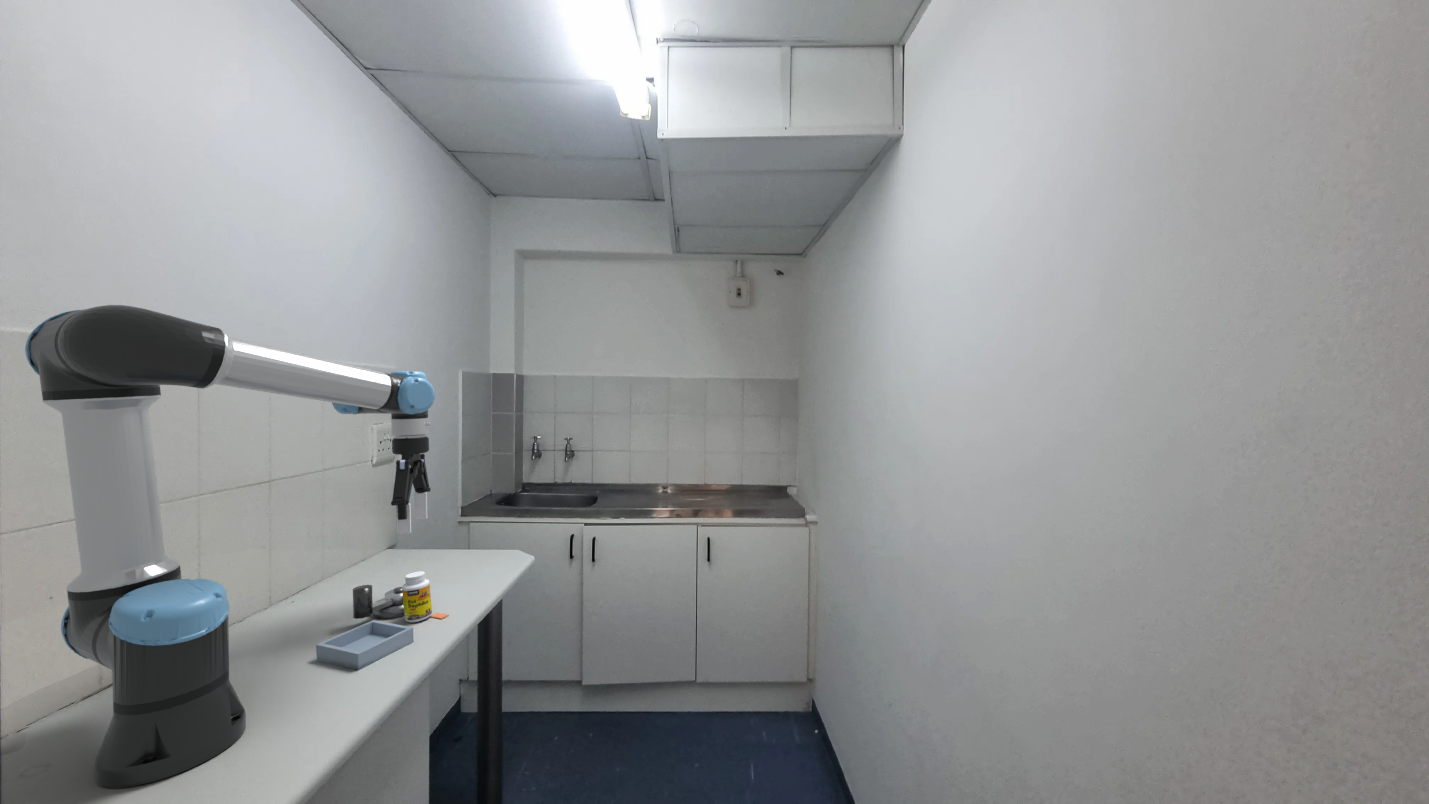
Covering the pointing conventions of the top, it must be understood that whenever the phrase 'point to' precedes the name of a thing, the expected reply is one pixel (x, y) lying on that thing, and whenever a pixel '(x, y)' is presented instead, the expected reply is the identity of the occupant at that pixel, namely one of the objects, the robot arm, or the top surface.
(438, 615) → the orange flat block
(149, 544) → the robot arm
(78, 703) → the top surface
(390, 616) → the crank housing
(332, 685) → the top surface
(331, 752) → the top surface
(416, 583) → the supplement bottle
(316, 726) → the top surface
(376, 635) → the tray
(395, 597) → the crank
